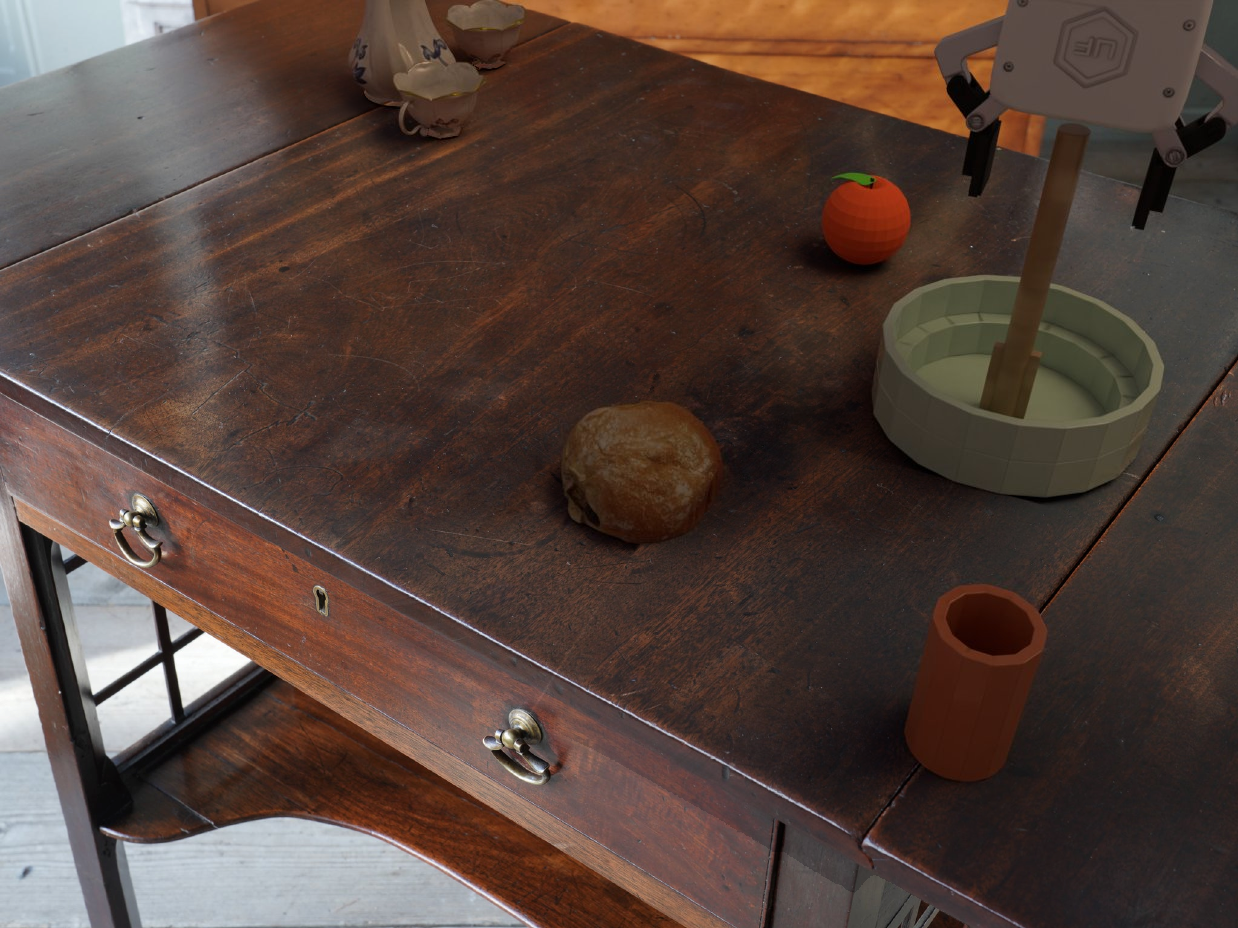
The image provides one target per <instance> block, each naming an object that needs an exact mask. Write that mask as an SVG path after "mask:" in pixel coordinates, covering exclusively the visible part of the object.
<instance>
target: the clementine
mask: <svg viewBox="0 0 1238 928" xmlns="http://www.w3.org/2000/svg"><path fill="white" fill-rule="evenodd" d="M835 179H847V180H845V181H844V182H841V184H840V185H839V186H837V188H836V189H834V190H833V191H832V192H831V194H830V195H829V197H828V199H827V200H826V202H825V204H824V206H823V210H822V214H821V228H822V229H821V230H822V234H823V236H824V239H825V242H826V243H827V245H828V246H829V248H830V249H831V250H832V252H833V253H834V254H835V255H836V256H837V257H839V258H840V259H843V260H844V261H846V262H848V263H851V264H855V265H860V266H862V265H863V266H867V265H874V264H878V263H880V262H884V261H886V260H887V259H889V258H890V257H892V256H893V255H894V254H896V253H897V252H898V251H899V250H900V248H901V247H902V246H903V244H904V243H905V241H906V239H907V237H908V234H909V231H910V228H911V222H912V221H911V220H912V219H911V217H912V216H911V215H912V214H911V210H910V207H909V202H908V199H907V197H905V195H904V193H903V192H902V190H901V189H900V188H899V187H898V186H897V185H895V184H894V183H893V182H891V181H890V180H888V179H886V178H885V177H882V176H878V175H873V174H872V175H871V174H870V175H869V174H865V173H860V172H846V173H841V174H837V175H834V176H833V177H831V178H829V179H828V180H827V181H826V182H824V183H823V185H822V187H821V188H820V190H819V191H820V192H822V190H823V189H824V187H825V186H826V185H827V184H828V182H830V181H831V180H835Z"/></svg>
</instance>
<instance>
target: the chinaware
mask: <svg viewBox="0 0 1238 928" xmlns="http://www.w3.org/2000/svg"><path fill="white" fill-rule="evenodd" d="M526 13H527V11H526V9H525V7H524V6H523V5H521V4H513V5H507V4H504V3H502V2H501V1H499V0H478V1H476V2H474V3H473V4H471V5H465V4H461V3H459V4H453V5H450V7H449V8H447V10H446V17H444V21H445V25H446V26H447V27H450V29H451V31H452V34H453V37H454V40H455V42H456V44H457V45H458V47H459V48H460V50H461V51H462V52H463V53H465V54H466V55H467V56H468V57H470V58H471V59H472V60H473V59H474V60H479V62H481V64H483V63H485V64H493V63H496V62H497V61H498V60H499V59H501V60H502V58H505V57H506V56H507V55H509V54H510V53H511V51H513V49H514V48H515V46H516V45H517V42H518V40H519V37H520V33H521V28H522V25H523V23H524V22H525V20H526ZM347 65H348V67H349V69H350V71H352V76H353V79H354V81H355V82H356V84H357V85H358V86H359V87H360V88H362V89H363V91H364V90H366V92H367V93H368V94H369V95H371V96H373V97H375V98H378V99H381V100H386V101H393V102H402V101H404V104H403V106H402V107H400V109H399V113H398V124H399V128H400V131H401V132H402V133H404V134H405V135H408V136H413V135H414V134H416V133H417V132H418V130H419V129H420V130H419V134H420V136H422V137H428V136H427V135H428V134H429V130H428V128H430V129H431V130H433V131H435V132H436V133H440V135H443V134H444V133H455V130H454V129H456V128H455V127H457V126H461V125H462V124H463V123H465V122H466V121H467V120H468V119H469V118H470V117H471V115H472V113H473V111H474V110H475V107H476V104H477V100H478V96H479V91H480V89H481V88H482V87H483V86H485V85H486V83H487V79H486V77H485V75H484V74H480V72H479V70H478V68H476V67H475V66H473V64H471V62H467V61H457V60H456V58H455V55H454V54H453V53H452V51H451V50H450V48H449V46H448V44H447V42H446V41H445V39H444V38H443V36H442V35H441V34H440V32H439V31H438V29H437V28H436V27H435V24H434V22H433V20H432V18H431V15H430V12H429V9H428V6H427V3H426V0H365V7H364V13H363V19H362V24H361V28H360V30H359V33H358V35H357V37H356V38H355V40H354V43H353V45H352V46H351V49H350V51H349V54H348V58H347ZM406 111H407V112H408V114H409V115H410V116H411V118H412V119H413V120H414V121H415V122H417V123H418V124H419V125H417V126H415V127H414V128H413V129H412V130H411V131H408V130H407V129H406V127H405V113H406Z"/></svg>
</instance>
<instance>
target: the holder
mask: <svg viewBox="0 0 1238 928" xmlns="http://www.w3.org/2000/svg"><path fill="white" fill-rule="evenodd" d="M1048 633H1049V632H1048V628H1047V626H1046V624H1045V621H1044V620H1043V618H1042V616H1041V613H1040V612H1039V610H1038V609H1037V607H1036V606H1034V605H1033V604H1031V603H1030V602H1029V601H1028V600H1026V599H1025V598H1023V597H1022V596H1021V595H1019V594H1017V593H1016V592H1014V591H1012V590H1009V589H1005V588H1002V587H999V586H995V585H991V584H988V583H987V584H986V583H978V584H977V583H975V584H964V585H957V586H955V587H954V588H952V589H951V590H949V591H947V592H945V593H943V594H942V595H941V596H939V597H938V598H937V601H936V603H935V606H934V610H933V612H932V615H931V619H930V623H929V627H928V632H927V634H926V635H927V636H926V640H925V644H924V648H923V651H922V656H921V660H920V663H919V668H918V672H917V675H916V679H915V684H914V687H913V688H914V689H913V693H912V696H911V700H910V705H909V709H908V712H907V717H906V722H905V725H904V728H903V729H904V730H903V733H904V736H905V739H906V744H907V747H908V749H909V750H910V753H911V754H912V755H913V757H914V758H915V759H916V760H917V761H918V763H920V764H921V765H922V766H923V767H924V768H925V769H927V770H929V771H930V772H932V773H934V774H935V775H937V776H939V777H942V778H945V779H948V780H951V781H957V782H977V781H982V780H985V779H988V778H990V777H992V776H993V775H995V774H996V773H997V772H999V771H1000V769H1002V768H1003V767H1005V765H1006V763H1007V760H1008V757H1009V755H1010V750H1011V748H1012V744H1013V742H1014V739H1015V735H1016V733H1017V730H1018V727H1019V723H1020V721H1021V718H1022V715H1023V712H1024V710H1025V706H1026V703H1027V700H1028V696H1029V695H1030V691H1031V688H1032V686H1033V682H1034V680H1035V677H1036V674H1037V670H1038V668H1039V665H1040V662H1041V659H1042V655H1043V653H1044V649H1045V645H1046V641H1047V637H1048Z"/></svg>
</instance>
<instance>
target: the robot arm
mask: <svg viewBox="0 0 1238 928" xmlns="http://www.w3.org/2000/svg"><path fill="white" fill-rule="evenodd" d="M1007 2H1008V3H1007V6H1006V10H1005V13H1004V14H1003V15H1001V16H997V17H995V18H992V19H989V20H986V21H984V22H982V23H979V24H976V25H973V26H970V27H967V28H965V29H963V30H960V31H957V32H954V33H951V34H949V35H945V36H944V37H942V38H941V39H940V40H939V42H938V44H936V46H935V48H934V57H935V61H936V62H937V65H938V68H939V71H940V74H941V77H942V79H943V80H944V82H945V86H946V90H945V91H946V94H947V95H948V97H949V98H950V100H951V101H952V103H953V104H954V105H955V107H956V108H957V109H958V111H959V112H960V113H961V115H962V116H963V118H964V119H965V126H966V128H967V129H968V130H969V134H968V140H967V145H966V149H965V155H964V159H963V164H962V170H961V175H962V176H966V177H971V178H970V183H969V188H968V192H967V197H969V198H976V199H977V198H978V197H981V196H982V194H983V192H984V190H985V188H986V186H987V184H988V182H989V179H990V177H991V173H992V168H993V163H994V160H995V159H994V158H995V154H996V150H997V145H998V140H999V136H1000V131H1001V127H1002V120H1001V119H1000V116H1002V115H1003V114H1004V113H1005V112H1007V111H1008V110H1012V111H1013V112H1019V113H1023V114H1029V115H1034V116H1039V117H1045V118H1049V119H1055V120H1062V121H1066V122H1067V121H1068V122H1072V123H1077V124H1083V125H1090V126H1095V127H1103V128H1109V129H1115V130H1121V131H1129V132H1134V133H1146V134H1147V133H1149V136H1150V137H1151V140H1152V142H1153V143H1154V145H1155V146H1154V148H1153V150H1152V154H1151V157H1150V160H1149V164H1148V167H1147V170H1146V172H1145V173H1146V174H1145V176H1144V180H1143V184H1142V187H1141V190H1140V194H1139V197H1138V200H1137V203H1136V207H1135V211H1134V215H1133V219H1132V222H1131V226H1132V227H1134V229H1135V230H1139V231H1145V228H1146V224H1147V223H1148V222H1147V221H1148V218H1149V215H1150V212H1155V213H1160V214H1163V212H1164V210H1165V206H1166V203H1167V200H1168V197H1169V194H1170V191H1171V188H1172V185H1173V182H1174V178H1175V175H1176V172H1177V169H1178V168H1179V167H1181V166H1182V165H1184V164H1185V162H1186V161H1187V159H1189V158H1191V157H1193V156H1195V155H1196V154H1198V153H1200V152H1202V151H1204V150H1206V149H1207V148H1209V147H1211V146H1213V145H1215V144H1216V143H1218V142H1220V141H1221V140H1222V139H1224V137H1225V135H1226V134H1227V133H1228V132H1229V131H1230V130H1231V129H1233V128H1234V127H1236V126H1237V125H1238V68H1236V67H1235V66H1234V65H1233V64H1231V63H1230V62H1229V61H1227V60H1226V59H1225V58H1224V57H1223V56H1222V55H1220V54H1219V53H1218V52H1216V51H1215V50H1214V49H1213V48H1211V47H1210V45H1207V44H1206V42H1204V40H1205V35H1206V32H1207V29H1208V28H1207V27H1208V25H1209V20H1210V16H1211V12H1212V9H1213V5H1214V0H1008V1H1007ZM995 47H996V50H995V54H994V59H993V64H992V68H991V74H990V81H989V88H987V89H986V90H984V88H983V87H982V85H981V84H980V83H979V81H978V80H977V79H976V77H975V76H974V74H972V72H971V71H970V70H969V67H968V62H967V57H970V56H973V55H975V54H978V53H981V52H984V51H986V50H990V49H992V48H995ZM1194 77H1195V78H1196V79H1197V80H1198V81H1200V82H1201V83H1202V84H1204V85H1205V86H1206V87H1207V88H1209V89H1210V90H1211V91H1212V92H1213V93H1215V94H1216V95H1217V96H1218V97H1220V98H1221V101H1220V102H1219V103H1218V104H1217V106H1216V107H1215V108H1214V109H1213V110H1211V111H1208V112H1207V113H1205V114H1204V115H1202V116H1200V117H1198V118H1196V119H1195V120H1193V121H1191V122H1190V123H1187V124H1186V121H1185V120H1184V118H1183V116H1182V114H1181V113H1182V111H1183V109H1184V106H1185V103H1186V102H1187V100H1188V96H1189V93H1190V90H1191V87H1192V83H1193V80H1194Z"/></svg>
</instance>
